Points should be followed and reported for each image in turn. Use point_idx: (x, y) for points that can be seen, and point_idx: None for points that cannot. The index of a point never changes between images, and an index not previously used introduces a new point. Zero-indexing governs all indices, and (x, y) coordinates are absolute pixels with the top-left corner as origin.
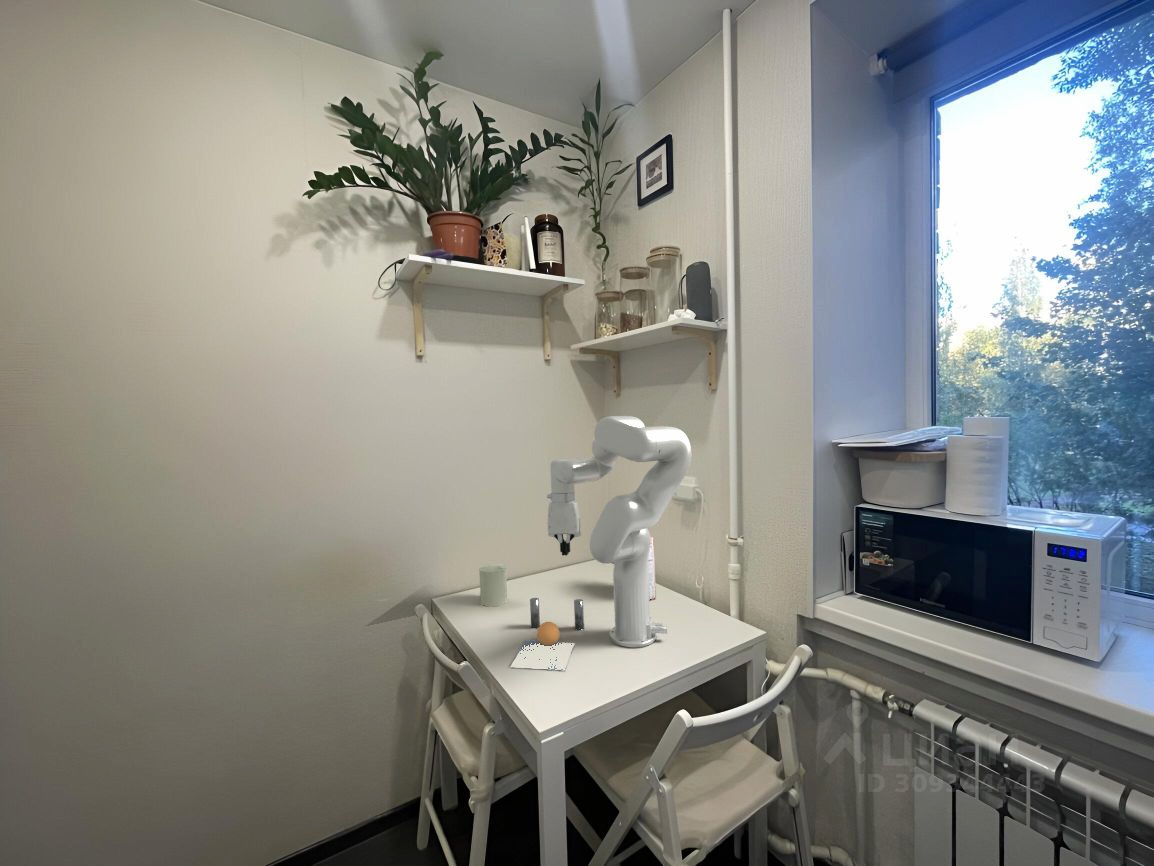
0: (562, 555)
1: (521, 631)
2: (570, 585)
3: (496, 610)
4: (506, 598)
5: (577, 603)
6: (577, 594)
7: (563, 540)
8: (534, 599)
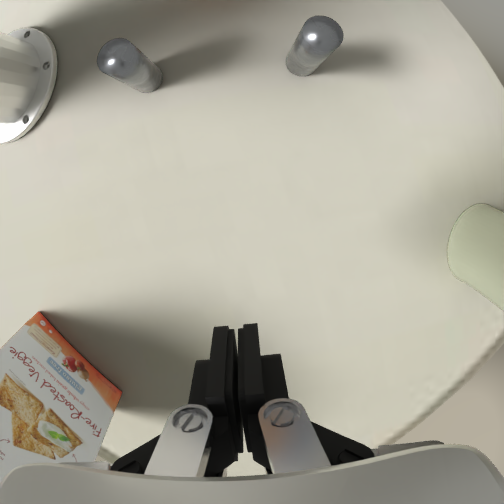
0: (254, 324)
1: None
2: None
3: (457, 177)
4: (453, 250)
5: (117, 39)
6: None
7: (252, 438)
8: (322, 31)
